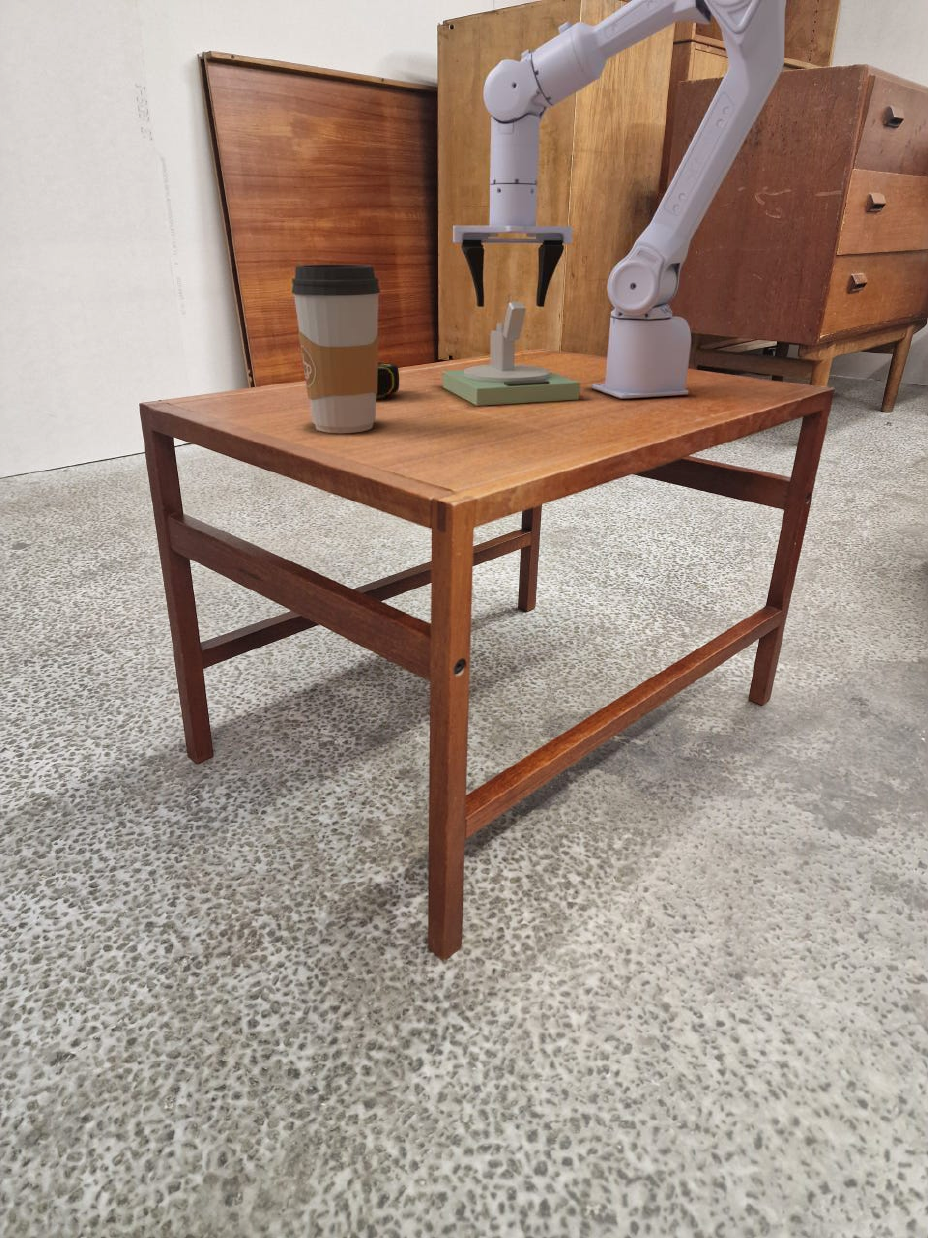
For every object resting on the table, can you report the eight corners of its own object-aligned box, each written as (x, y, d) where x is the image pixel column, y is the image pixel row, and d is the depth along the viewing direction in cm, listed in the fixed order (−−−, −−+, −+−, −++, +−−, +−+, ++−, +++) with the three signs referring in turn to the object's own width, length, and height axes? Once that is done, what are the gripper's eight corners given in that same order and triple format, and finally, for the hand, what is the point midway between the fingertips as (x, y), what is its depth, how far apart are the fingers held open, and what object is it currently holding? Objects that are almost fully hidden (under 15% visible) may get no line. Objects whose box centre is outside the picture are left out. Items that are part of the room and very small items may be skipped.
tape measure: (389, 389, 101) (387, 358, 99) (407, 399, 95) (406, 366, 93) (336, 393, 98) (334, 361, 96) (352, 403, 92) (350, 370, 91)
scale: (535, 381, 106) (536, 361, 105) (579, 399, 95) (580, 377, 94) (442, 386, 103) (442, 365, 102) (476, 406, 92) (476, 382, 90)
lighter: (489, 366, 101) (490, 298, 98) (502, 365, 102) (503, 298, 98) (510, 374, 95) (512, 302, 92) (523, 374, 96) (526, 302, 92)
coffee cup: (294, 421, 84) (280, 264, 77) (371, 415, 87) (364, 263, 80) (314, 439, 77) (300, 268, 70) (396, 431, 80) (391, 267, 73)
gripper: (455, 182, 92) (455, 308, 98) (580, 183, 93) (572, 308, 99) (452, 185, 99) (452, 304, 104) (568, 186, 99) (562, 303, 105)
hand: (510, 306), depth 102 cm, fingers open, 7 cm apart
